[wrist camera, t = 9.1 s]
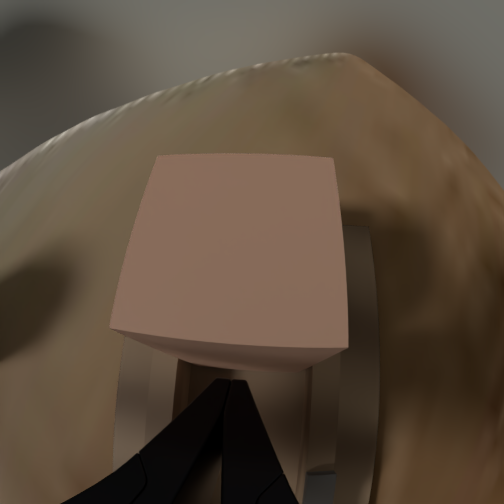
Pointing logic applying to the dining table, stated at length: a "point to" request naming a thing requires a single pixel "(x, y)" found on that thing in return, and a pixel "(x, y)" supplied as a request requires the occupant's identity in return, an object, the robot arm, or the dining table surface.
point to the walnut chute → (280, 398)
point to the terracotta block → (237, 262)
